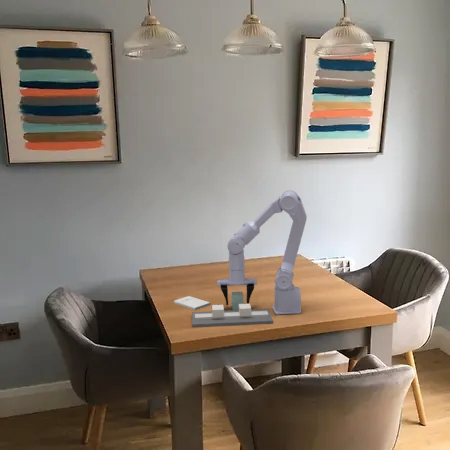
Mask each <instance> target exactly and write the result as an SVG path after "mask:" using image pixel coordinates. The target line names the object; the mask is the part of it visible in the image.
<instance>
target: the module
mask: <svg viewBox="0 0 450 450" xmlns="http://www.w3.org/2000/svg"><path fill="white" fill-rule="evenodd" d="M239 304H244V294H243V291H231V309H232V310H239Z"/></svg>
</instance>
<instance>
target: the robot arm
mask: <svg viewBox="0 0 450 450" xmlns="http://www.w3.org/2000/svg"><path fill="white" fill-rule="evenodd" d="M283 212H285V213H286V214H288V215H289V217H290V219H292V224H291V228H290V231H289V236H288V239H287V242H286V243H287V244H286V247H285V249H284V254H283V257H282V262H281V266H280V267H279V268H278V270H277V271H276V276H275V279H274V305H272V310H273V312H274V314H275V315H291V314H292V315H293V314H301V313H302V294H301V288H300V287H299V286H295V284H294V283H293V278H294V268H295V265H296V264H295V263H296V261H297V256H298V252H299V249H300V244H301V241H302V237H303V233H304V230H305V225H306V222H307V217H308V215H307V213H306V210H305V207H304V205H303V201H302V199H301V197H300V196H299V194H297V192H295V191H294V190H288V189H287V190H285V191H284V192H283V193H282V194H281V195H279V196H277V197H276V198H275V199H274V200H273V201H272V202H270V203H269V205H268V206H267V207H266V208H265V209H264V210H263V211H262V212H261V213H260V214H259V215H258V216H257V217H256V219H254V220H253V221H247V222H244V223H243V224H242V227H241V228H240V229H239V230H238V231H237V232H235V233H234V234H233V236H232V237H231V238H230V239H229V241H228V242H227V245H226V246H227V250H228V276H229V277H228V278H226V279H218V280H217V281H216V282H217V283H216V284H217V285H216V286H217V287H220V291H221V292H222V294H223V296H224V299H225V304H226V306H229V290H228V289H229V288H228V287H229V286H230V287H231V286H232V287H233V286H246V304H250V300H251V296H252V293H253V291H254V289H255V286H257V285H258V283H257V282H258V281H257V278H249V277H248V278H246V277H245V276H246V275H245V269H246V268H245V255H244V254H245V253H244V252H245V250H244V248H245V246H248V245H249V244H250V243H251V242H252V241H253V240H254V239H255V238H256V237H257V236H258V235H259V234H260V232H261V231H260V229H261V227H262V226H263V225H264V224H265V223H266V222H268V221H269V219H270V218H272V216H273V215H275V214H279V213H283Z"/></svg>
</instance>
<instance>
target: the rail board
mask: <svg viewBox="0 0 450 450" xmlns="http://www.w3.org/2000/svg"><path fill="white" fill-rule="evenodd" d="M224 308H225V307H224V304H211V311H210V310H209V311H192V313H191V325H192V326H191V327H192V328H202V327H203V328H205V327H206V328H207V327H224V326H225V327H226V326H247V325H249V326H250V325H266V324H267V325H268V324H269V325H270V324H274V320H273V317H272V314H271V312H270V309H269V308H260V309H259V308H258V309H257V308H256V309H255V308H254V309H252V306H251V304H250V303H249V304H247V303H243V304H239V310H225V309H224Z"/></svg>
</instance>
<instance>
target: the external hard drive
mask: <svg viewBox="0 0 450 450" xmlns="http://www.w3.org/2000/svg"><path fill="white" fill-rule="evenodd" d="M173 303H174V304H175V305H178V306H180V307H181V306H182V307H184V308H187V309H189V308H190V309H189V310H192V311H197V309H198V310H201V309H203V308H206V307H208V306H212V303H211V302H210V301H206V300H203V299H199V298H197V297H193V296H191V295H188V296H184V297H181V298H178V299H174V301H173ZM200 308H201V309H200Z"/></svg>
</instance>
